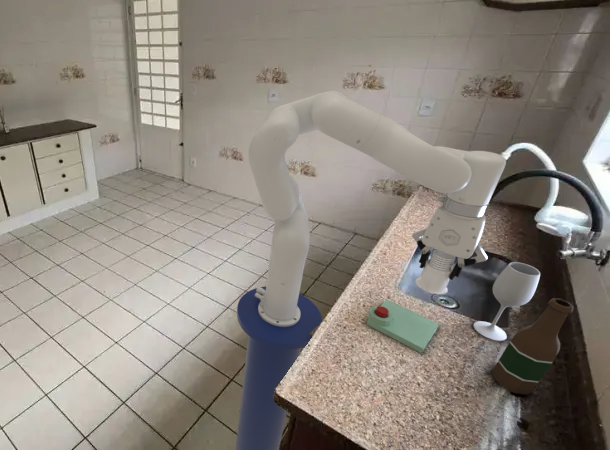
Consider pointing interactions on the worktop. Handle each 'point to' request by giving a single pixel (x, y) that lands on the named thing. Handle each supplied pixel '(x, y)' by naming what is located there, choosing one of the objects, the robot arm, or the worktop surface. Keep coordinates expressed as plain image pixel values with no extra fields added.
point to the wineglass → (510, 295)
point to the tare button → (381, 312)
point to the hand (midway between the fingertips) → (437, 271)
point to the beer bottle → (532, 350)
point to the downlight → (436, 273)
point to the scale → (403, 325)
